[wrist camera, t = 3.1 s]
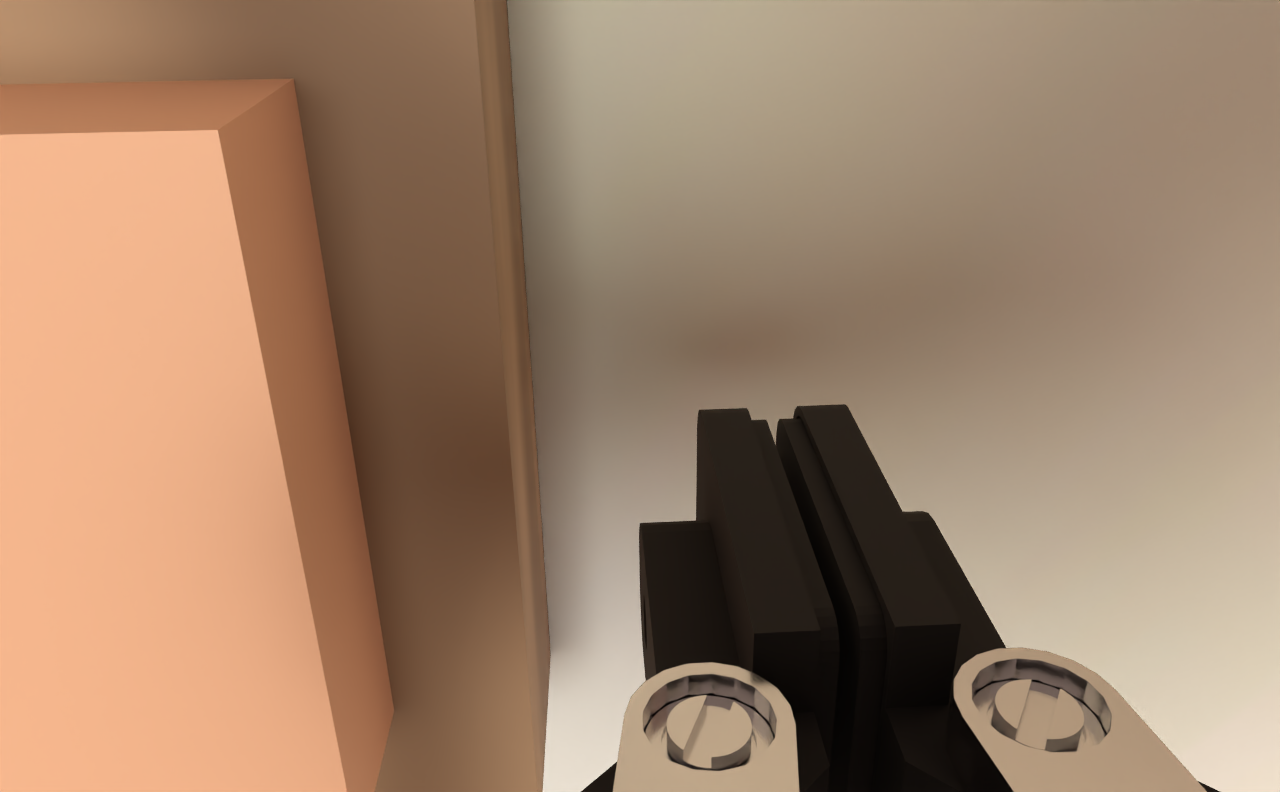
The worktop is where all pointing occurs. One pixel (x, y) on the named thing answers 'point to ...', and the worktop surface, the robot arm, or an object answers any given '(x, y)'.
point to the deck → (394, 326)
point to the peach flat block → (175, 454)
